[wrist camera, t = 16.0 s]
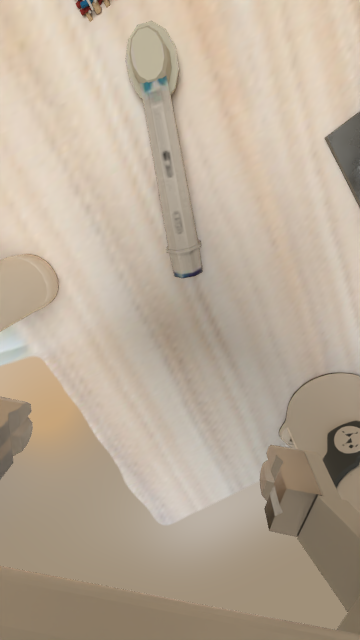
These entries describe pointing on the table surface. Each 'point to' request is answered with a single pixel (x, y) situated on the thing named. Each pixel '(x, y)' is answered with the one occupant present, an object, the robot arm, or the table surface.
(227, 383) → the table surface
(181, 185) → the toothbrush head
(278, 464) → the robot arm
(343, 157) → the duct collar
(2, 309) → the bottle
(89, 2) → the woven mat
